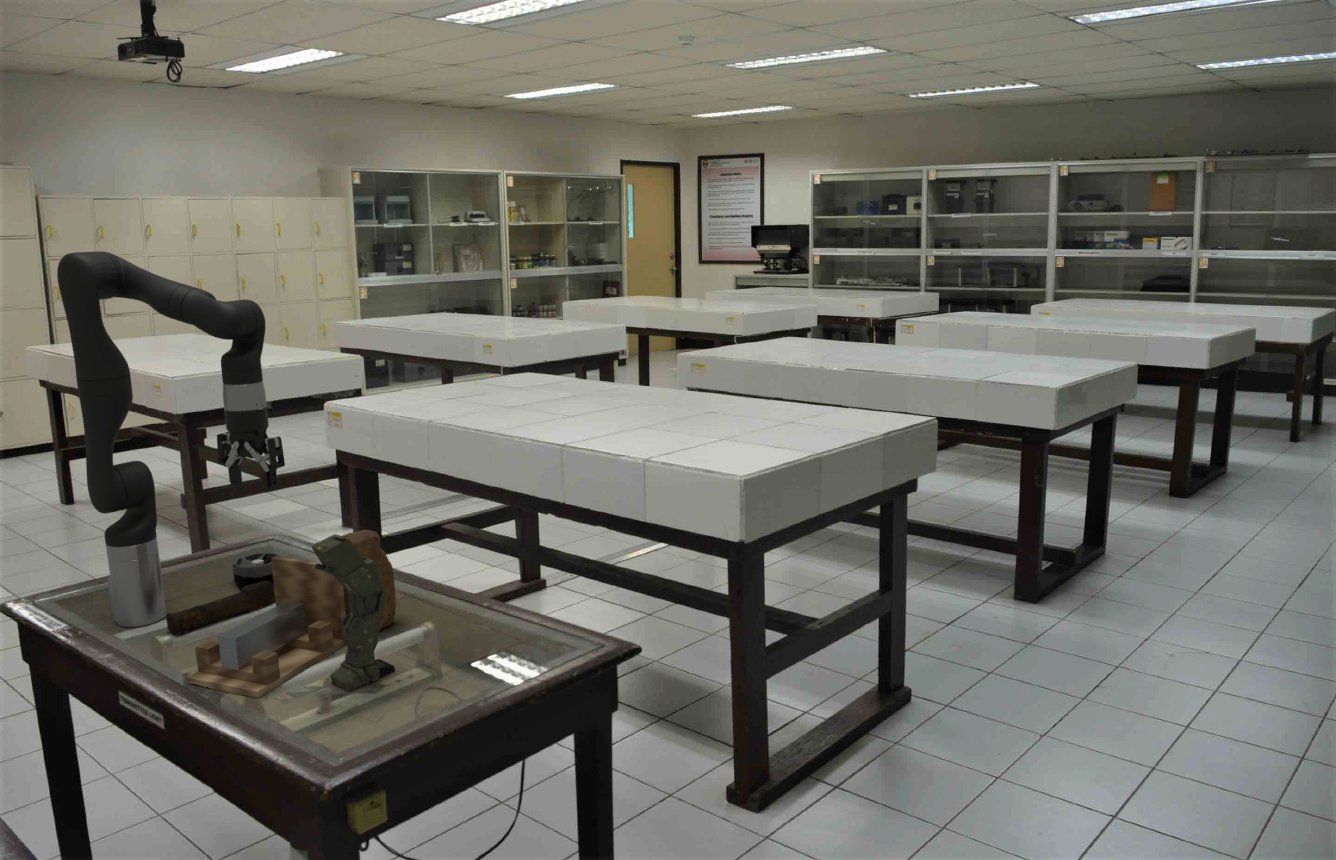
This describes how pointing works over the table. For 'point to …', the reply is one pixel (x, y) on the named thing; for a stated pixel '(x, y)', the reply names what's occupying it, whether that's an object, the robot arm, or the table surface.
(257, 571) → the cpu cooler
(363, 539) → the brown rounded piece
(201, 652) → the post cradle
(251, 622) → the rail
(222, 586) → the table surface
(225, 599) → the dark brown bar
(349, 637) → the mechanical leg
